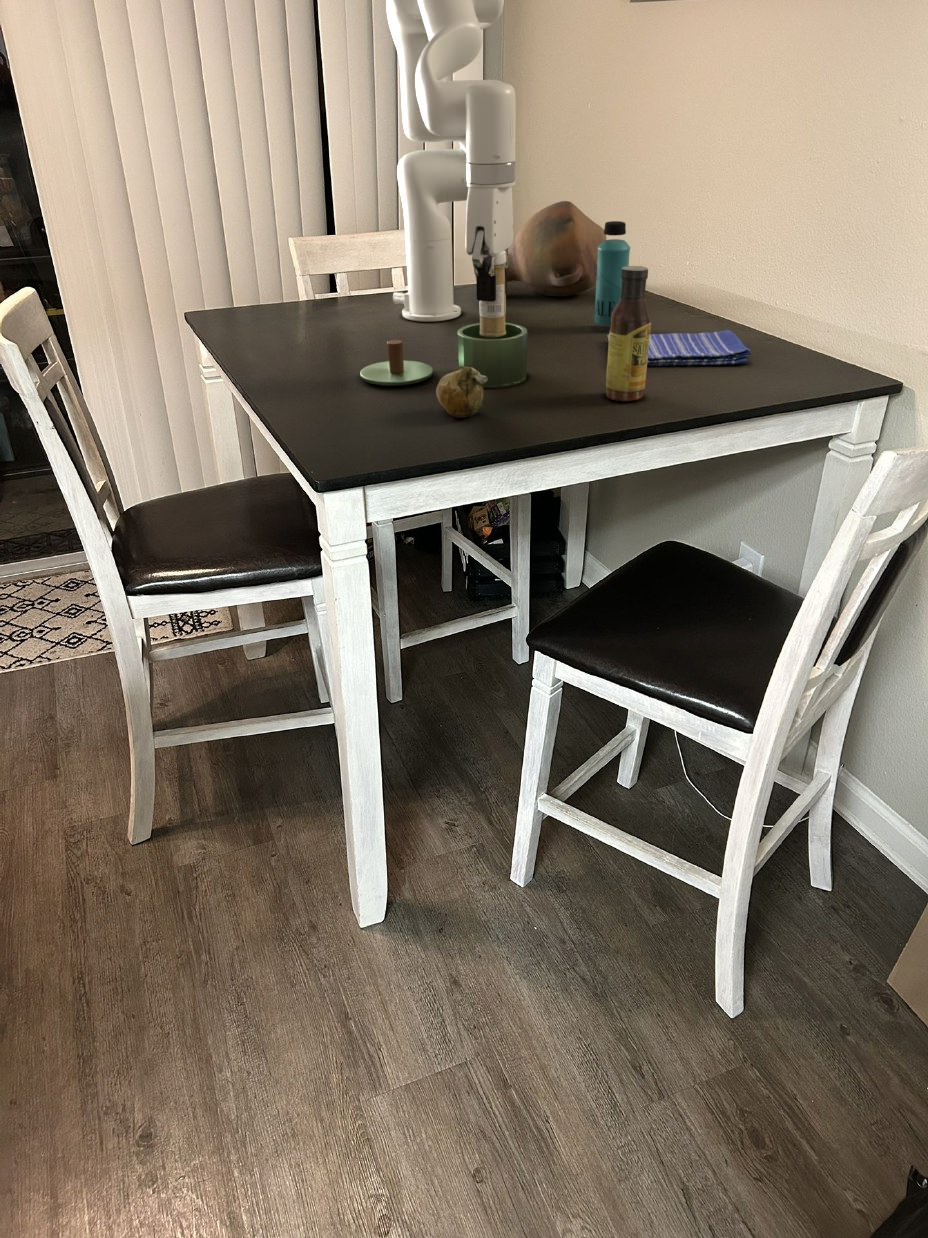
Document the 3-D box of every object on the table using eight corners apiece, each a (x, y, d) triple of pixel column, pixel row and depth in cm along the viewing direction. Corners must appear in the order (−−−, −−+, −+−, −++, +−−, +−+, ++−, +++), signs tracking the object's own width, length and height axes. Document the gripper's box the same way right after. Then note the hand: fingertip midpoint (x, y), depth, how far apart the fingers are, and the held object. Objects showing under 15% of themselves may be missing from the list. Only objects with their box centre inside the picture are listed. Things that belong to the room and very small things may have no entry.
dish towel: (752, 366, 160) (754, 349, 159) (616, 367, 161) (617, 351, 160) (731, 339, 175) (733, 324, 174) (606, 341, 176) (607, 326, 175)
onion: (482, 404, 147) (481, 354, 143) (489, 421, 140) (488, 369, 136) (435, 407, 146) (432, 357, 142) (440, 424, 139) (437, 372, 135)
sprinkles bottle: (507, 331, 156) (507, 247, 149) (503, 338, 152) (503, 253, 145) (481, 330, 157) (480, 247, 150) (476, 337, 153) (475, 252, 146)
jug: (614, 288, 214) (489, 308, 221) (605, 197, 208) (477, 221, 215) (607, 289, 195) (472, 311, 203) (598, 189, 189) (458, 216, 197)
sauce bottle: (634, 405, 144) (645, 273, 134) (598, 399, 147) (605, 270, 137) (650, 394, 149) (661, 265, 139) (615, 388, 152) (623, 262, 141)
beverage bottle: (624, 324, 186) (632, 218, 176) (626, 333, 181) (633, 224, 170) (592, 324, 187) (597, 218, 176) (593, 333, 181) (598, 224, 171)
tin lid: (347, 384, 157) (344, 348, 154) (380, 364, 167) (378, 329, 164) (414, 392, 153) (412, 354, 150) (444, 370, 163) (443, 335, 159)
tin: (448, 384, 156) (447, 336, 152) (473, 365, 165) (473, 319, 161) (512, 391, 152) (513, 342, 148) (535, 371, 161) (536, 324, 157)
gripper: (487, 168, 150) (489, 284, 159) (447, 181, 136) (451, 307, 146) (531, 169, 147) (530, 287, 157) (494, 182, 134) (495, 310, 144)
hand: (492, 295), depth 151 cm, fingers closed on sprinkles bottle, 4 cm apart
